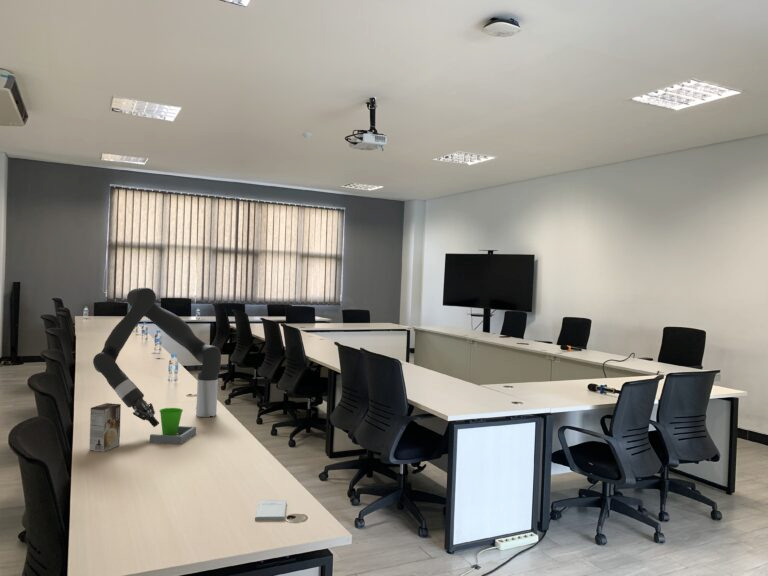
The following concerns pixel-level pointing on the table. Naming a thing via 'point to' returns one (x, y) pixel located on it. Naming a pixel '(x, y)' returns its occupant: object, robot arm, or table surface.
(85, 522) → the table surface
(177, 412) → the cup
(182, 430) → the grey cradle
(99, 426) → the coffee box
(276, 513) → the external hard drive
